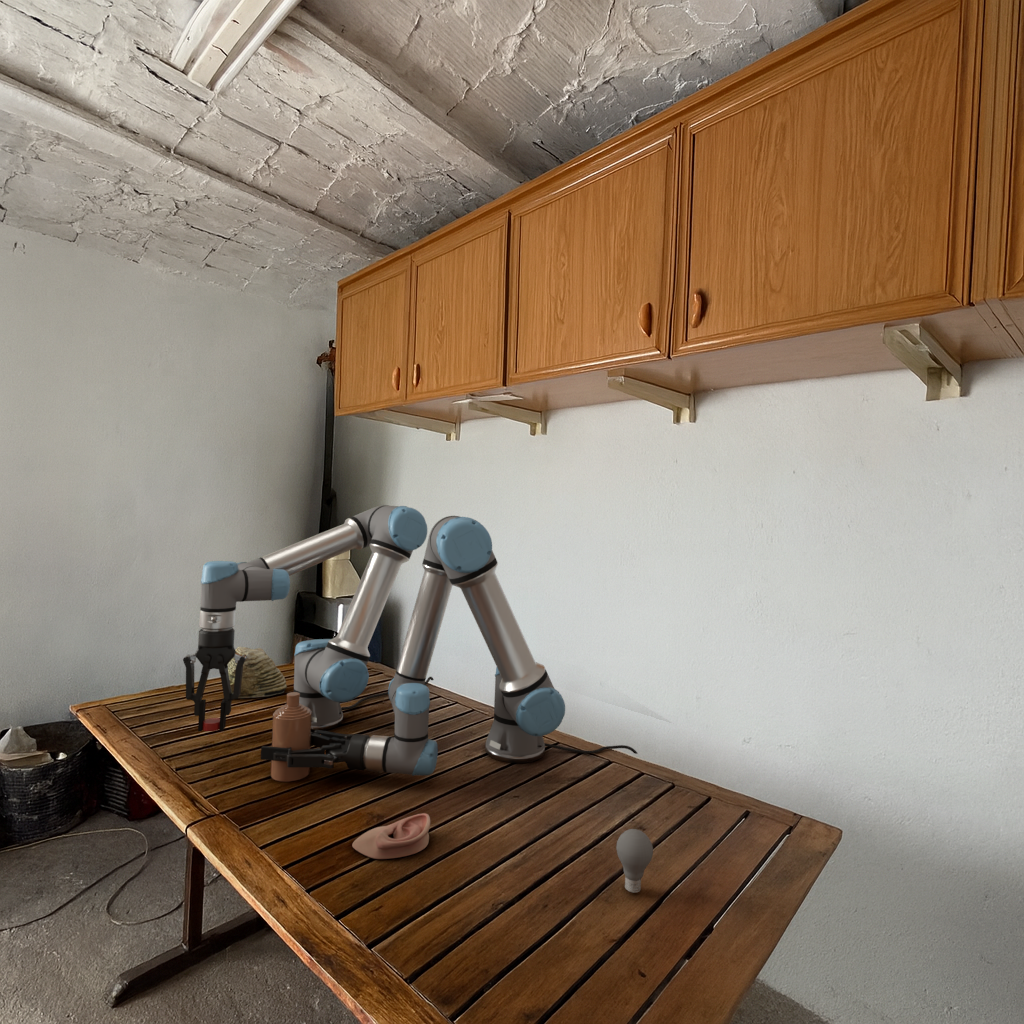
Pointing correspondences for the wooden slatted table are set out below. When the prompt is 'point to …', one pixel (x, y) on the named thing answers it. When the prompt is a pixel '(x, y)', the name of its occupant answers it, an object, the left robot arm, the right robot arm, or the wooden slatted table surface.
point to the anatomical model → (395, 838)
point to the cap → (211, 724)
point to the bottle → (291, 736)
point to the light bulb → (634, 857)
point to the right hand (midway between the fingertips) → (271, 744)
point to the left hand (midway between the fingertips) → (211, 728)
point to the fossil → (257, 674)
